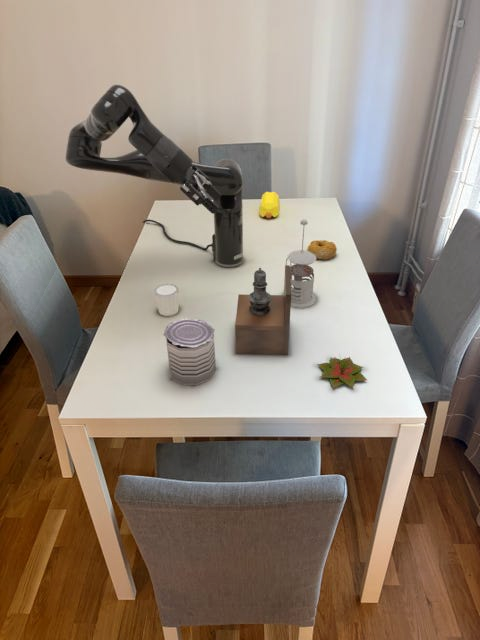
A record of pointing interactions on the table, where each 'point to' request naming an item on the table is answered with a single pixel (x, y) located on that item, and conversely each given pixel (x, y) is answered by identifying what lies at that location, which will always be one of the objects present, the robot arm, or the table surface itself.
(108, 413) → the table surface
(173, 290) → the white short cylinder
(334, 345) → the table surface
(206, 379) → the can
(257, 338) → the l-shaped wooden block
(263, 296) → the chess piece
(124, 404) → the table surface
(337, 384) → the succulent plant
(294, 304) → the french press
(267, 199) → the yellow lumpy bar
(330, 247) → the bagel
